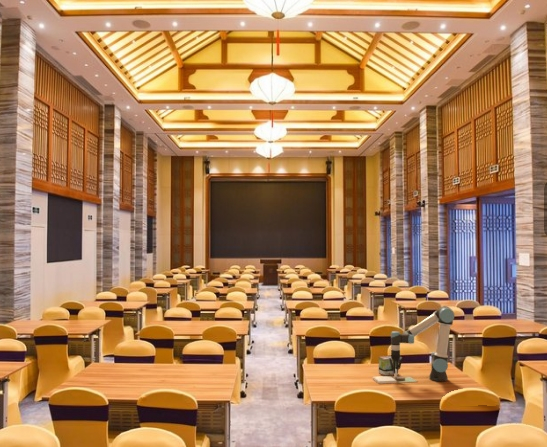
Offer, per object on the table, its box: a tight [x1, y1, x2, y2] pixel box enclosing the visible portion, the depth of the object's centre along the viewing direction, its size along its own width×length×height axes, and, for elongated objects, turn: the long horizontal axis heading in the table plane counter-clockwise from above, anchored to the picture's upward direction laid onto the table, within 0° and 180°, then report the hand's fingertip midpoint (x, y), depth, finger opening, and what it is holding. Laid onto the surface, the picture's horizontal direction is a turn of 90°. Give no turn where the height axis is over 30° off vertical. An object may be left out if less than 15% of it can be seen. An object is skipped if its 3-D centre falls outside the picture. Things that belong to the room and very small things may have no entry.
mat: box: [396, 376, 418, 384], centre depth 419 cm, size 18×14×1 cm
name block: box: [391, 376, 405, 381], centre depth 418 cm, size 9×6×2 cm, turn 99°
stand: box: [372, 375, 397, 385], centre depth 416 cm, size 16×14×2 cm
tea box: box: [378, 355, 399, 376], centre depth 440 cm, size 15×10×15 cm, turn 112°
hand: (395, 377), depth 418 cm, fingers closed
